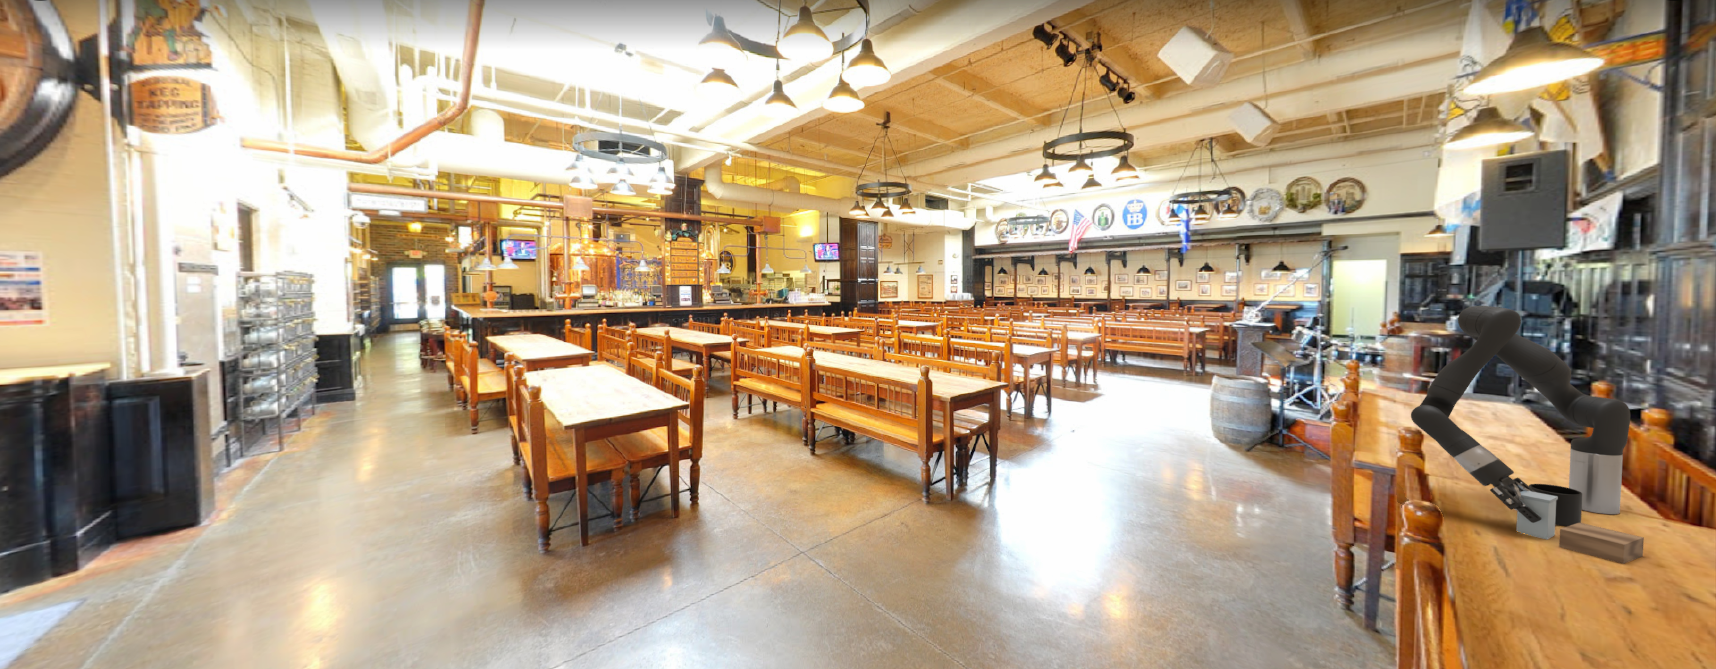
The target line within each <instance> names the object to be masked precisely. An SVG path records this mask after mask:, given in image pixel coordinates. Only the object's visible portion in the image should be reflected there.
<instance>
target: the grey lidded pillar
mask: <svg viewBox="0 0 1716 669" xmlns="http://www.w3.org/2000/svg"><path fill="white" fill-rule="evenodd" d="M1520 493H1521V495H1522V496H1523V497H1524V499H1523V501H1524V502H1525V504H1526V505H1527V506H1528V507H1529V508H1530V509H1532V510H1533V511H1534V512H1535V513H1536V514H1537V515H1538V516H1540V517H1541V520H1540V521H1537V522H1535V523H1532V522H1530V521H1529V520H1528V519H1527V518H1526V517H1525V516H1523V515H1522V514H1521V513H1520V512H1519V511H1518V510H1517V511H1516V512H1517V513H1516V531H1518V532H1521V533H1520V534H1522V533H1525V534H1524V535H1526V534H1528V535H1527V536H1530V535H1531V537H1535V538H1539V539H1543V540H1549V539H1551V538H1552V537H1554V536H1555V534H1556V525H1555V516H1556V500H1558V496H1553V495H1547V494H1542V493H1537V492H1532V491H1522V492H1520ZM1527 506H1526V507H1527Z"/></svg>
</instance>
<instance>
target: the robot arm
mask: <svg viewBox="0 0 1716 669" xmlns="http://www.w3.org/2000/svg"><path fill="white" fill-rule="evenodd" d="M1457 322H1458V326H1459V328H1460V330H1462V332H1463V333H1464V334H1466V335H1467V336H1469V337H1470V338H1472V339H1474V340H1475V342H1474V344H1473V345H1472V346H1471V347H1469V348H1468V349H1467V350H1466V351H1465V352H1464V353H1462V354H1460V356H1458V357H1456V358H1455V359H1453V360H1452V361H1450V362H1448V363H1447V364H1446V365H1445V366H1443V368H1441V370H1440V371H1439V372H1438V373H1437V375H1436V376H1435V377H1434V379H1433V381H1432V382H1431V383H1430V385H1429V387H1428V389H1427V392H1426V393H1427V394H1426V395H1425V397H1424V398H1423V400H1422V401H1421V403H1420V405H1418V406H1416V407H1415V408H1413V409H1412V411H1411V413H1410V418H1411V421H1412V422H1413V423H1414V424H1415V425H1416V426H1417V427H1418V428H1420V429H1421V430H1422V431H1423V432H1425V434H1427V435H1428V436H1429V437H1430V438H1432V439H1433V440H1434V441H1435V442H1437V444H1439V446H1440V448H1442V449H1443V450H1444V451H1445V453H1446V452H1447V454H1448V455H1449V456H1451V458H1453V459H1454V460H1455V461H1456V462H1457V463H1458V464H1459V465H1460V466H1461V467H1462V468H1463V469H1464V470H1465V471H1466V472H1467V473H1468V474H1469V475H1471V477H1473V478H1474V479H1475V480H1476V481H1477V482H1478V483H1479V484H1481V485H1482V486H1483V487H1488V486H1490V485H1492V488H1490V489H1489V491H1490V492H1491V493H1492V494H1493V495H1494V496H1495V497H1496V498H1497V499H1498V500H1500V502H1502V503H1503V504H1504V505H1505V506H1506V507H1507V508H1508V509H1510V510H1514V511H1516V512H1517V510H1518V511H1519V512H1520V513H1521V514H1522V515H1523V516H1525V517H1526V518H1527V519H1528V520H1529V521H1530V522H1532V523H1535V522H1537V521H1540V520H1541V517H1540V516H1538V515H1537V514H1536V513H1535V512H1534V511H1533V510H1532V509H1530V508H1529V507H1528V506H1527V505H1526V504H1525V502H1524V501H1523V499H1524V497H1523V496H1522V495H1521V493H1520V492H1522V491H1532V492H1535V491H1534V490H1533V489H1532V488H1530V487H1529V485H1528V484H1527V483H1526V482H1524V481H1523V480H1522V479H1521V478H1520V477H1515V478H1511V477H1510V476H1511V475H1514V473H1515V472H1514V470H1513V469H1511V468H1510V467H1509V466H1508V465H1507V464H1506V463H1505V462H1504V461H1502V460H1501V459H1500V458H1499V457H1498V456H1496V455H1495V454H1494V453H1493V452H1492V451H1490V450H1489V449H1488V448H1486V447H1485V446H1483V445H1482V444H1480V443H1479V442H1478V441H1477V440H1476V439H1475V438H1474V437H1472V436H1471V435H1470V434H1469V433H1468V432H1466V431H1465V430H1463V429H1461V427H1460V426H1458V425H1457V424H1456V423H1455V422H1454V421H1453V420H1452V419H1451V418H1450V416H1451V414H1452V412H1453V410H1454V408H1455V406H1456V404H1457V403H1458V402H1459V401H1460V399H1461V398H1462V396H1463V395H1464V393H1465V392H1466V390H1467V389H1468V388H1469V386H1470V385H1471V383H1472V382H1473V380H1474V379H1475V377H1476V376H1477V375H1478V373H1479V372H1480V371H1481V370H1482V369H1483V368H1484V367H1485V366H1486V365H1487V364H1488V363H1489V362H1490V361H1491V360H1492V359H1493V357H1495V356H1497V357H1498V358H1499V359H1500V360H1501V361H1502V362H1504V363H1505V365H1508V367H1509V368H1511V369H1512V370H1513V371H1514V372H1515V374H1517V375H1519V376H1520V377H1521V378H1522V379H1523V380H1524V381H1526V382H1527V383H1529V385H1531V386H1532V387H1533V388H1534V389H1536V390H1537V392H1538V393H1540V394H1541V395H1542V396H1543V397H1545V398H1546V399H1547V400H1548V401H1549V403H1551V404H1552V406H1554V408H1555V409H1556V410H1557V411H1558V412H1559V413H1560V414H1561V416H1562V417H1564V419H1566V420H1567V421H1568V422H1570V423H1571V424H1573V425H1577V426H1581V427H1585V428H1591V429H1592V432H1591V435H1590V436H1588V437H1578V438H1573V439H1572V440H1571V442H1570V455H1569V475H1568V476H1569V478H1568V480H1569V481H1568V488H1571V489H1574V490H1577V491H1580V492H1581V493H1582V511H1586V512H1590V513H1597V514H1604V515H1618V514H1620V512H1621V497H1622V495H1621V494H1622V476H1623V474H1622V473H1623V457H1624V455H1623V454H1624V449H1625V447H1627V446H1626V445H1627V443H1628V438H1629V432H1630V431H1629V430H1630V425H1631V410H1630V408H1629V406H1628V405H1627V404H1626V403H1625V402H1624V401H1623V400H1619V399H1614V398H1607V397H1602V396H1601V397H1599V396H1592V395H1588V394H1585V393H1583V392H1581V391H1580V390H1578V389H1577V388H1576V387H1575V386H1573V385H1572V383H1571V380H1572V371H1571V368H1570V367H1569V365H1568V364H1567V363H1566V362H1565V361H1563V359H1561V358H1560V357H1559V356H1558V355H1557V354H1555V353H1554V352H1553V351H1551V350H1549V349H1548V348H1546V347H1544V346H1543V345H1541V344H1539V343H1537V342H1534V341H1532V340H1530V339H1528V338H1526V337H1523V336H1521V335H1519V334H1517V332H1518V330H1519V329H1520V327H1521V324H1522V319H1521V315H1520V314H1519V313H1518V312H1517V311H1515V310H1513V309H1511V308H1505V307H1498V306H1489V305H1474V306H1468V307H1466V308H1464V309H1463V310H1462V311H1460V313H1459V314H1458V318H1457ZM1526 506H1527V507H1526Z"/></svg>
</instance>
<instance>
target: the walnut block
mask: <svg viewBox="0 0 1716 669" xmlns="http://www.w3.org/2000/svg"><path fill="white" fill-rule="evenodd" d="M1644 542H1645V540H1644V537H1643V536H1639V535H1635V534H1632V533H1627V532H1622V531H1618V530H1615V529H1614V530H1613V529H1609V528H1605V527H1601V526H1597V525H1591V524H1588V523H1584V522H1581V523H1577V524H1573V525H1570V526H1563V527H1561V528H1560V529H1559V542H1558V548H1562V549H1564V550H1569V551H1574V552H1576V553H1580V554H1584V555H1588V556H1591V557H1594V558H1595V557H1596V558H1599V559H1603V560H1605V561H1606V560H1607V561H1610V562H1613V563H1617V564H1622V565H1624V564H1627V563H1630V562H1632V561H1634V560H1637V559H1639V558H1642V557H1643V556H1644V544H1645V543H1644Z"/></svg>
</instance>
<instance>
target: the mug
mask: <svg viewBox="0 0 1716 669" xmlns="http://www.w3.org/2000/svg"><path fill="white" fill-rule="evenodd" d="M1528 486H1529V487H1530V488H1532V489H1533V490H1534V491H1535V492H1537V493H1542V494H1547V495H1553V496H1558V500H1556V516H1555V526H1562V527H1567V526H1570V525H1573V524H1577V523H1582V511H1583V510H1582V493H1581V492H1580V491H1577V490H1574V489H1571V488H1569V487H1566V486H1561V485H1556V484H1549V483H1547V484H1546V483H1530V484H1529V485H1528Z"/></svg>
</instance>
